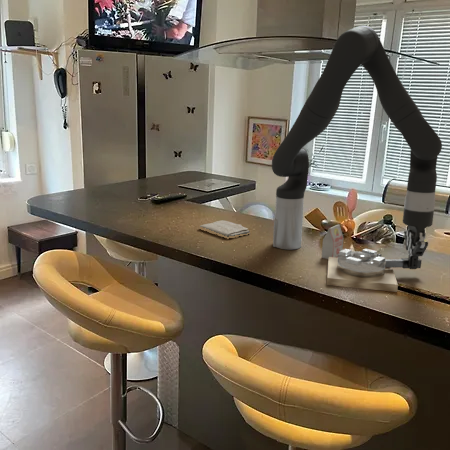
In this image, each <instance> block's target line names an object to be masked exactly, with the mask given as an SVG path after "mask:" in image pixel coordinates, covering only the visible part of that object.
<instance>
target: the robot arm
mask: <svg viewBox="0 0 450 450" xmlns="http://www.w3.org/2000/svg"><path fill="white" fill-rule="evenodd" d="M330 52H331V53H330V55H329V57H328V60H327V62H326V64H325V67H324V68H323V71H322V73H321V75H320V77H319V79H318V80H317V82H315V84H314V87H312V88H313V89H312V90H311V91H310V94H309V95H308V96H307V98H306V100H305V102H304V104H303V106H302V108H301V110H300V112H299V114H298V116H297V118H296V119H295V122H294V123H293V125H292V126H291V128H290V130H289V131H288V133H287V134H286V136H285V138H284V139H283V140H282V141H281V143H280V144H279V146H278V147H277V149H276V150H275V152H274V154H273V157H272V159H271V169H272V172H273V173H274V175H275V176H277V177H281V178H287V180H286V181H285V182H284V183H283V184H281V185H279V186H278V187H277V188H276V190H275V191H276V193H275V210H274V211H275V213H274V214H275V215H274V219H273V239H272V242H273V243H272V247H274V248H278V249H280V250H281V249H282V250H288V251H289V250H298V249H300V248H302V237H303V218H304V204H305V203H304V202H305V192H306V189H307V186H308V179H309V178H308V176H309V171H310V169H309V168H310V159H309V158H310V157H309V154H308V151H307V150H305V149H304V147H305V146H307V144H309V143H310V142H311V141H313V140H314V139H315V138H317V137H318V136H319V135H321V134H322V133H323V132H324V131H325V130H327V127H329V125H330V123H331V122H332V120H333V119H334V117H335V115H336V113H337V111H338V109H339V107H340V104H341V100H342V95H343V91H344V90H345V87H346V85H347V83H348V81H349V80H350V79H351V77H352V76H353V75H354V73H355V72H356V71H357V70H358V68H359V67H360V66H362V67H363V68H364V69H365V70H366V72H367V73H368V74H369V77H370V78H371V80H372V82H373V84H374V86H375V89H376V93H377V95H378V99H379V101H380V102H379V103H380V105H381V107H382V109H383V110H384V112H385V114H386V115H387V116H388V118H389V120H390V121H391V123H392V124H393V126H394V127H395V129H397V130H398V132H399V133H400V134H401V135H402V137H403V139H404V140H405V142H406V144H407V145H408V147H409V148H410V153H409V155H410V157H409V173H408V178H407V186H406V193H405V196H404V203H403V204H404V206H403V215H402V223H403V224H404V225H405V226H407V229H406V230H404V231H403V236H404V243H405V244H404V245H405V250H406V251H407V255H408V257H407V258H408V268H407V269H409V270H416V269H418V268H417V266H418V258H419V257H423V255H424V253H425V251H426V250H427V248H428V246H429V242H428V241H425V240H426V237H427V233H426V229H427V228H429V227H431V226H433V221H434V216H435V215H434V212H435V207H436V206H435V205H436V189H437V188H436V186H437V180H438V176H437V175H438V174H437V162H438V156H439V155H440V154H441V152H442V147H443V144H442V139H440V136H439V134H438V133H437V132H436V131H435V130H434V128H433V127H432V126H431V125H430V123H429V122H428V121H427V120H426V118H425V117H424V115H423V114H422V112H421V110H420V109H419V107H418V105H417V104H416V103H415V101H414V100H413V98H412V97H411V95H410V94H409V92H408V91H407V89H406V88H405V86H404V85H403V83H402V81H401V80H400V78H399V76H398V74H397V72H396V70H395V69H394V67H393V65H392V63H391V61H390V58H389V56H388V55H387V52H386V50H385V48H384V46H383V43H382V41H381V39H380V37H379V35H378V33H377V32H376V31H375V30H374V29H373V28H372V27H370V26H368V25H359V26H356V27H353V28H350V29H347V30H346V31H344V32H342V33H341V34H340V35H339V37H338V38H337V39H336V41H335V43H334V45H333V47H332V50H331V51H330Z"/></svg>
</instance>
